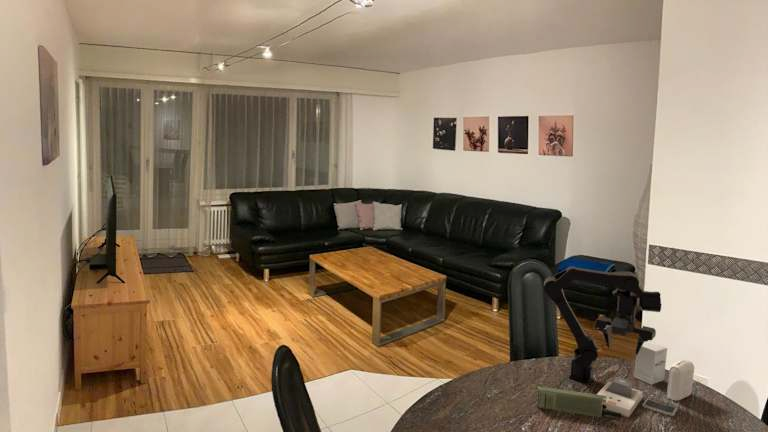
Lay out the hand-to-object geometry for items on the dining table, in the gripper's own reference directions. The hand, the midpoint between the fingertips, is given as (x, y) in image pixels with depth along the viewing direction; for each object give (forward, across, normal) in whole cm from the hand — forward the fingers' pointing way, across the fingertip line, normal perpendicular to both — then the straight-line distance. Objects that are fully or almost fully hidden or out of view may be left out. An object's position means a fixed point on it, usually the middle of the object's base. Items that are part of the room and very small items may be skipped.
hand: (622, 351), depth 181 cm
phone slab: (+12, +15, -10) cm, 22 cm away
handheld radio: (+12, -4, -30) cm, 32 cm away
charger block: (+12, +3, -11) cm, 16 cm away
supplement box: (+12, +7, +11) cm, 18 cm away
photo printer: (+12, +18, +4) cm, 22 cm away
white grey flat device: (+12, +4, -14) cm, 19 cm away
